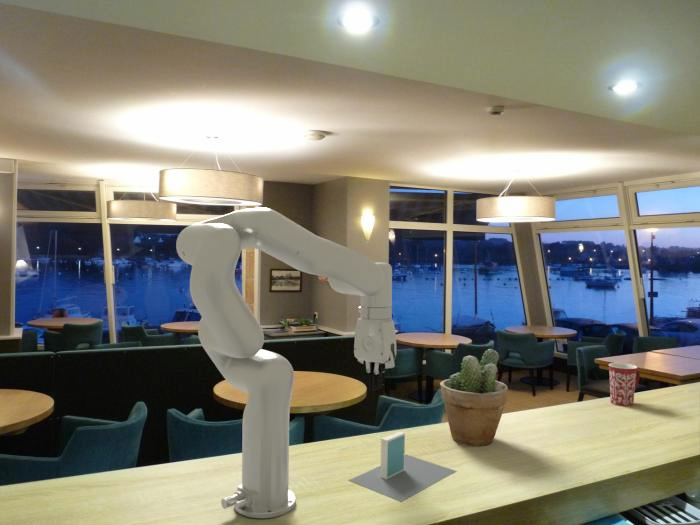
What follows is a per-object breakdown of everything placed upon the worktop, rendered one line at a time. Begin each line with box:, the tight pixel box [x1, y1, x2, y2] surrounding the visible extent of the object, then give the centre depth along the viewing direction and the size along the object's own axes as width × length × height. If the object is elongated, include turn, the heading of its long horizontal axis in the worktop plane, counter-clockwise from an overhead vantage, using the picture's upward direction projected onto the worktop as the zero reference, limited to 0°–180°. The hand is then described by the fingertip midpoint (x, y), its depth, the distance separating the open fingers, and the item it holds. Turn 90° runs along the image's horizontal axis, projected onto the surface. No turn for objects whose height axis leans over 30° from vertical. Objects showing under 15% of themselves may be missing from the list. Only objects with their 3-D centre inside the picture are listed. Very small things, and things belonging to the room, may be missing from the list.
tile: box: [380, 431, 406, 479], centre depth 128 cm, size 7×2×9 cm, turn 138°
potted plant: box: [439, 348, 509, 447], centre depth 153 cm, size 18×19×25 cm
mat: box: [348, 454, 457, 503], centre depth 127 cm, size 22×15×1 cm
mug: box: [608, 362, 640, 407], centre depth 193 cm, size 13×9×14 cm
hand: (375, 388), depth 132 cm, fingers closed
